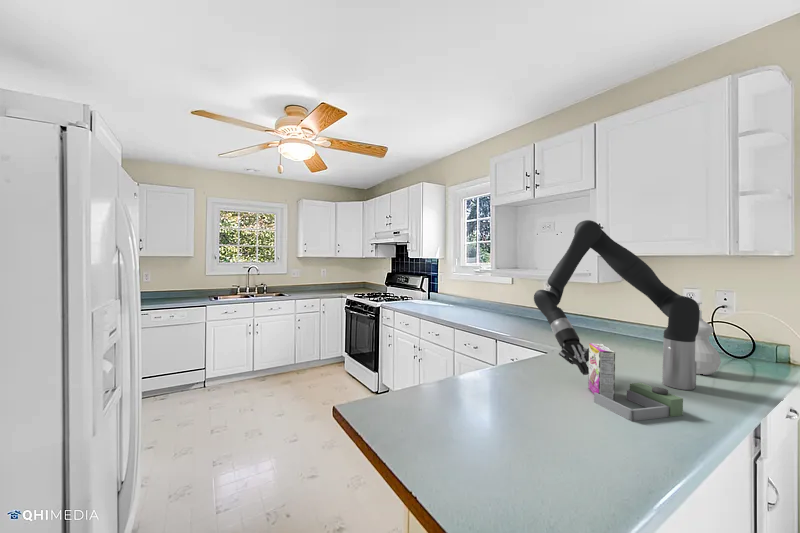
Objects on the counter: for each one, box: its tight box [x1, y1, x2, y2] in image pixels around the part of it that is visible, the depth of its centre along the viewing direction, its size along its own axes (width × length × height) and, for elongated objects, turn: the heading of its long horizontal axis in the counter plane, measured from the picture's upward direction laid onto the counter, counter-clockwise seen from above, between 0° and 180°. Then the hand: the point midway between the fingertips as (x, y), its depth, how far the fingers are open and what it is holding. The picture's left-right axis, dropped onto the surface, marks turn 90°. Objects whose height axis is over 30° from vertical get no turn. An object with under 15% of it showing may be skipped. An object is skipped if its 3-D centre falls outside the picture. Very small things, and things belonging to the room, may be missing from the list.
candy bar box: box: [587, 343, 616, 401], centre depth 119 cm, size 11×5×16 cm, turn 168°
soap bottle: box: [695, 301, 722, 376], centre depth 147 cm, size 17×12×29 cm
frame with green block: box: [593, 382, 684, 422], centre depth 109 cm, size 19×14×6 cm
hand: (586, 373), depth 125 cm, fingers closed
